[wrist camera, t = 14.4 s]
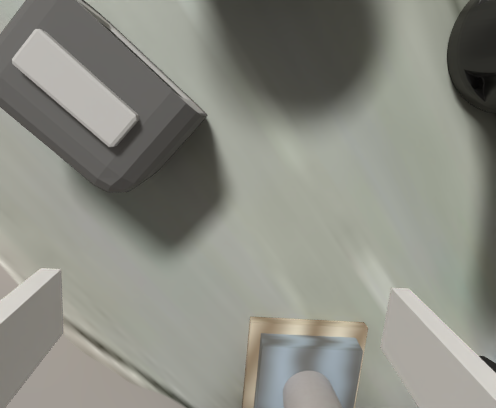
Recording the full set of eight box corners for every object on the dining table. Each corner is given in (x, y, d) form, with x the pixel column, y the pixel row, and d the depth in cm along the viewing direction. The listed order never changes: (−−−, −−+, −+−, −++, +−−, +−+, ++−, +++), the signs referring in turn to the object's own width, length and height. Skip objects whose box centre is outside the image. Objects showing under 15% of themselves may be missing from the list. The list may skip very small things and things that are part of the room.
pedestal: (364, 322, 52) (376, 341, 48) (348, 418, 56) (358, 444, 51) (250, 316, 51) (251, 335, 47) (241, 415, 55) (242, 441, 50)
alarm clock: (209, 115, 45) (197, 115, 30) (148, 183, 47) (107, 216, 31) (100, 13, 42) (25, -46, 27) (38, 89, 43) (-65, 75, 28)
